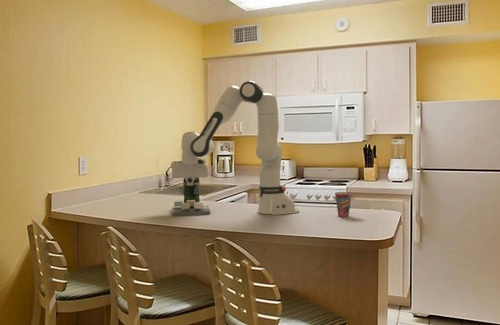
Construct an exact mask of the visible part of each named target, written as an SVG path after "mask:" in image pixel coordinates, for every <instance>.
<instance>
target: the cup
mask: <svg viewBox="0 0 500 325" xmlns="http://www.w3.org/2000/svg"><path fill="white" fill-rule="evenodd" d="M334 194H335V201H336V208H337V217H338V218H345V219H346V218H349V216H350V208H351V200H352V199H351V198H352V195H354V194H355V192H350V191H349V192H347V191H339V192H337V191H336V192H334Z"/></svg>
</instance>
